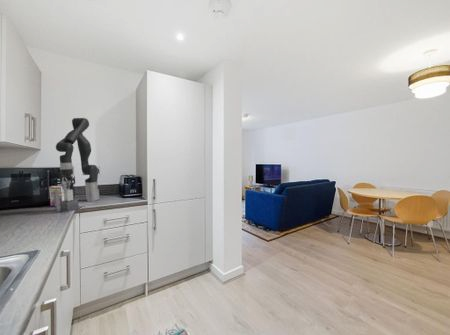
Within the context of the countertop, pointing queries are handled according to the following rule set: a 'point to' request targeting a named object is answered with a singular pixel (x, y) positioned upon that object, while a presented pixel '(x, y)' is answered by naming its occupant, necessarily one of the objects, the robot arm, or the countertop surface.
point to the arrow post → (57, 201)
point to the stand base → (69, 206)
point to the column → (67, 191)
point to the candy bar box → (51, 192)
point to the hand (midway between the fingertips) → (68, 189)
